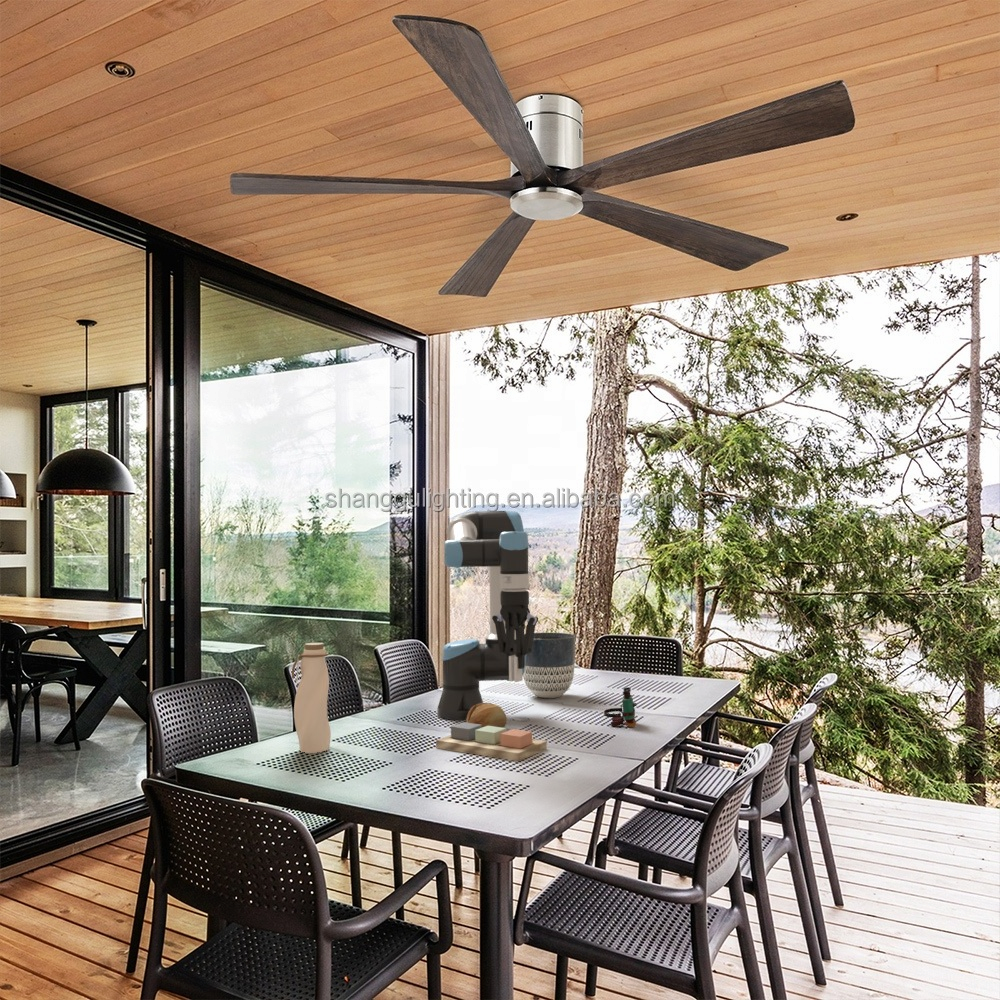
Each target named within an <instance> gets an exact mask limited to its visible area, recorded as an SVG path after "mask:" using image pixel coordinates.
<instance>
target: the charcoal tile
mask: <svg viewBox="0 0 1000 1000" xmlns="http://www.w3.org/2000/svg"><path fill="white" fill-rule="evenodd" d="M480 728H482V725H480V724H473V723H466V721H464V722H461V723H458V724H454V725H451V726H450V735H451V738H455V739H462V740H465V741H467V740H468V741H470V740H472V739H475V730H477V729H480Z"/></svg>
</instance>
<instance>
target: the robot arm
mask: <svg viewBox="0 0 1000 1000" xmlns="http://www.w3.org/2000/svg"><path fill="white" fill-rule="evenodd" d="M446 538H447V540H445V541H444V547H443V548H444V565H445V566H446V567H447V568H457V569H459V568H468V567H469V568H475V567H478V568H479V567H481V568H482V567H483V568H484V567H485V568H487V567H488V569H489V576H488V577H489V579H488V580H489V633H488V634H487V636H486V637H485V643H480V641H479V639H477V638H472V639H461V640H456V641H451V642H448V643H446V644H445V645H444V646H443V648H442V658H441V661H442V691H441V695H440V698H439V702H438V706H437V710H436V711H437V712H436V714H437V717H438V718H441V719H445V720H458V721H459V720H461V721H462V720H466V719H467V715H468V712H469V710H470V709H471V707H473V706H474V705H477V704H480V703H484V701H483V698H482V694H481V691H480V682H490V681H491V682H492V681H494V682H495V681H507V682H514V683H518V682H522V681H523V674H524V670H525V664H526V654H529V653H531V651H532V644H533V638H534V633H535V629H536V626H537V623H538V621H539V617H538V616H534V615H533V614H531V612H530V609H529V605H530V593H529V591H528V590H529V588H530V579H529V547H530V543H529V534H528V533H527V532H526V531H524V524H523V520H522V517H521V514H520V512H518V511H517V510H516V511H514V510H486V511H484V510H483V511H482V510H480V511H477V510H475V511H474V510H473V511H468V512H465V513H462V514H459V515H458V516H456V517H455V518H453V519H452V520H451V521H450V522H449V524H448V525H447V528H446Z"/></svg>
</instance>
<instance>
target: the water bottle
mask: <svg viewBox="0 0 1000 1000" xmlns="http://www.w3.org/2000/svg"><path fill="white" fill-rule="evenodd" d="M325 649H326V648H325V647H324V642H308V643H307V642H306V643H304V649H303V652H302V653H301V654H297V658H296V659H295V661H294V662H293V665H292V669H291V678H292V679H295V668H296V679H295V683H296V684H297V683H298V682H299V684H298V685H297V689H296V693H295V697H294V707H293V718H294V719H293V720H294V726H295V730H296V735H297V739H298V743H299V752H300V751H301V752H300V753H302V752H305V753H304V754H318V753H317V752H320V753H323V752H322V751H325V752H327V751H329V750H330V747H331V746H330V745H331V735H332V732H331V725H330V722H329V719H328V697H329V687H330V678H329V670H328V665H327V663H326V662H327V661H326V657H327V656H329V652H326V650H325ZM300 659H301V661H300ZM299 665H300V666H299ZM299 668H300V669H299ZM299 670H300V673H301V678H300V681H299ZM328 749H329V750H328ZM326 750H327V751H326Z"/></svg>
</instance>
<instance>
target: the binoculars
mask: <svg viewBox="0 0 1000 1000" xmlns="http://www.w3.org/2000/svg"><path fill="white" fill-rule="evenodd" d="M631 691H632V690H631V687H629V686H628V687H627V686H626V687H624V688H623V691H622V695H623V698H622V705H621V706H620V707H612V708H606V709H605V710H603V716H604V717H606V718H611V721H610V724H611V725H610V726H611V727H617V726H621V725H622V726H626V727H628V728H635V727H636V721H637V720H636V719H635V718H636V717H635V714H636V713H635V712H636V710H635V707H636V706H638V705H637V703H636V702H634V699H633V695H632V694H631ZM612 712H613V713H612ZM614 712H618V713H614Z"/></svg>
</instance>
